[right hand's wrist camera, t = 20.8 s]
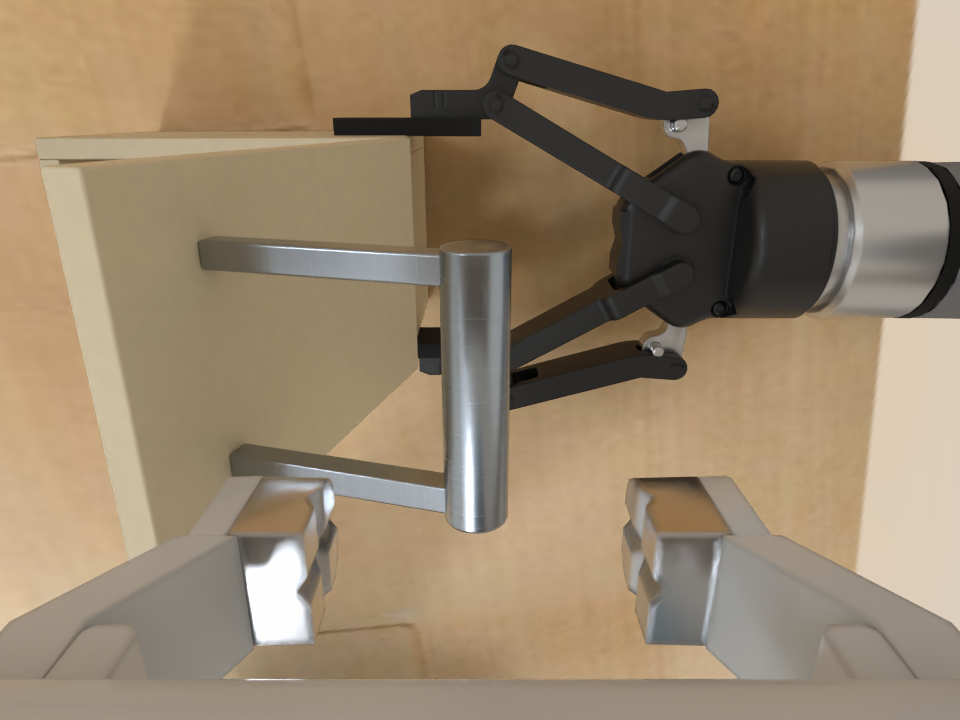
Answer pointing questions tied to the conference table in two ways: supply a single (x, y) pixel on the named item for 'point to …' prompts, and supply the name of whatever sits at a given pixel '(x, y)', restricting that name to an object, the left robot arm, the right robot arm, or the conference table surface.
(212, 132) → the chest
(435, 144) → the conference table surface
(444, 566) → the conference table surface
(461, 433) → the lid
